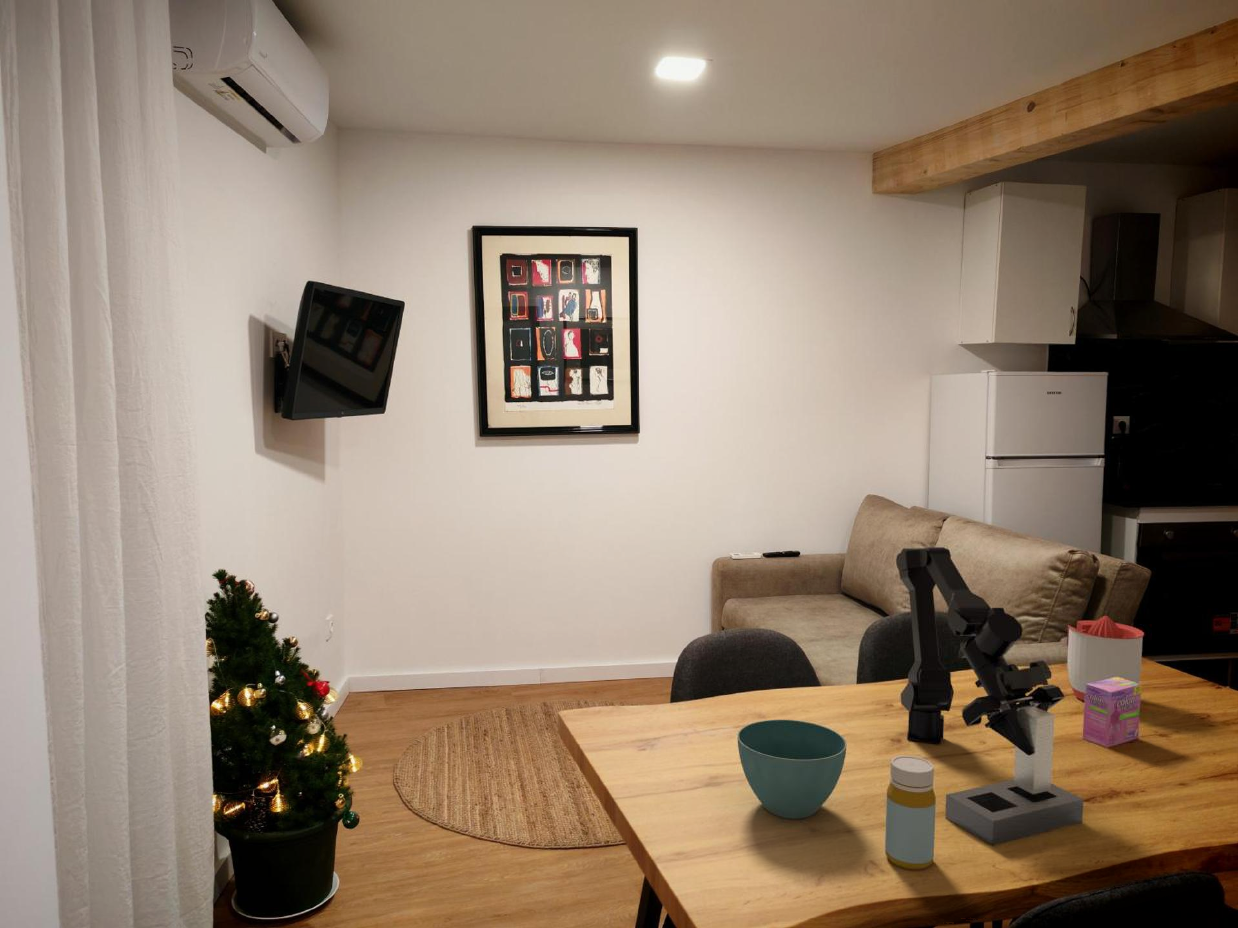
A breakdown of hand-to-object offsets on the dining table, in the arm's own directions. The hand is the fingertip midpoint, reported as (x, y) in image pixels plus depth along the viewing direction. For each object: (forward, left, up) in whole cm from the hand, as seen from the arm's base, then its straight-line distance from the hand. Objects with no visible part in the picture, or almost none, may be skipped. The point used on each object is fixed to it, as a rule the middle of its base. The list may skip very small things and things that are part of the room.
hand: (1040, 752), depth 145 cm
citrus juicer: (+18, +71, -12) cm, 74 cm away
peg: (-1, +1, -7) cm, 7 cm away
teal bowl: (-39, -12, -12) cm, 43 cm away
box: (+17, +44, -12) cm, 49 cm away
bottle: (-19, -22, -12) cm, 31 cm away
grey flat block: (-4, -2, -11) cm, 12 cm away
